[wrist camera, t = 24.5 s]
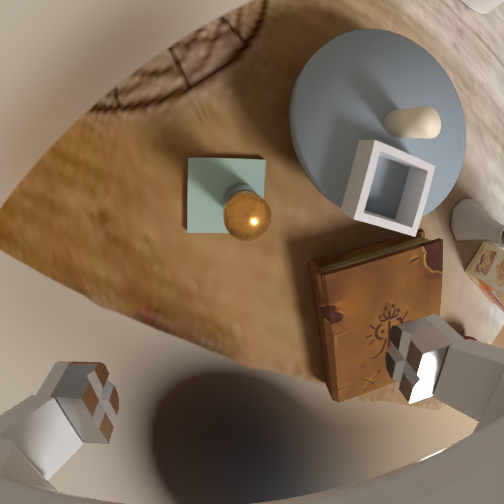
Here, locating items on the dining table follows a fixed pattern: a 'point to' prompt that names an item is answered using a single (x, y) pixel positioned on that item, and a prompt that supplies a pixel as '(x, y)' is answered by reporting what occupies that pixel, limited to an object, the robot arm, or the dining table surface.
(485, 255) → the coffeecake box
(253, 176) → the mat
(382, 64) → the dial
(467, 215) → the flask
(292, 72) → the dining table surface
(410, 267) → the diary
